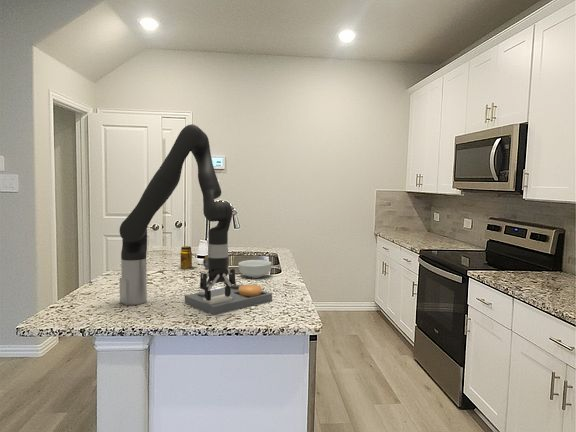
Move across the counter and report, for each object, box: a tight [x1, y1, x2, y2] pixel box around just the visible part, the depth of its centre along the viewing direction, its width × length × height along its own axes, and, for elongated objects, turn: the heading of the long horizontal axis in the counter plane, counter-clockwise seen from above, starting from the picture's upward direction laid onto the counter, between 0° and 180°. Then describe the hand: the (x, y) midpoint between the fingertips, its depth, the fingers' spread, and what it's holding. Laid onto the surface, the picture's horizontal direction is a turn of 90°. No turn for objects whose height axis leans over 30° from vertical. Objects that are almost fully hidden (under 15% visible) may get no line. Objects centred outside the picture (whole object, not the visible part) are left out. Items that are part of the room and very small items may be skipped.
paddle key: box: [203, 294, 233, 304], centre depth 157 cm, size 10×5×2 cm, turn 134°
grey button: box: [198, 289, 205, 296], centre depth 164 cm, size 4×4×2 cm
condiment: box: [178, 245, 197, 271], centre depth 228 cm, size 7×8×12 cm
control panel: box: [184, 284, 273, 316], centre depth 165 cm, size 28×20×4 cm
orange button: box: [239, 284, 263, 296], centre depth 167 cm, size 9×9×2 cm
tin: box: [202, 254, 209, 271], centre depth 225 cm, size 15×3×8 cm, turn 62°
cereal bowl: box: [238, 259, 273, 279], centre depth 212 cm, size 17×17×7 cm
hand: (218, 298), depth 157 cm, fingers open, 8 cm apart
